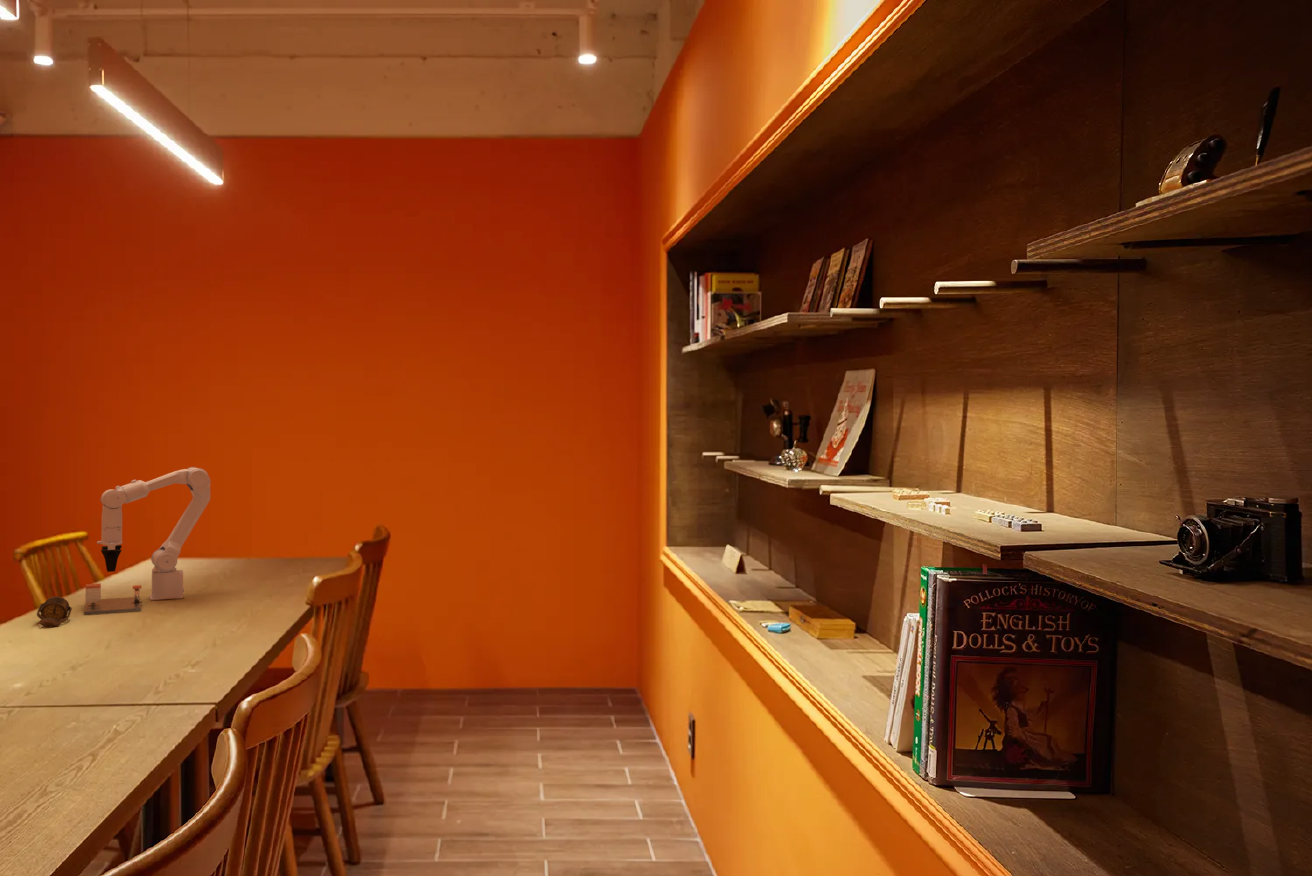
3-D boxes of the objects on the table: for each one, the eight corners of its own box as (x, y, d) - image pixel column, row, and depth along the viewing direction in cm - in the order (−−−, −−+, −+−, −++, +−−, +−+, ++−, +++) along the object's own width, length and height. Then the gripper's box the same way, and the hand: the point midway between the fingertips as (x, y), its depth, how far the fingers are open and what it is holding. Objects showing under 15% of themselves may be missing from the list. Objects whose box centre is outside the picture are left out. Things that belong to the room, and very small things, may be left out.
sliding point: (100, 602, 301) (100, 583, 301) (100, 604, 298) (100, 585, 297) (85, 603, 299) (85, 584, 299) (85, 605, 296) (85, 586, 296)
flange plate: (141, 599, 314) (141, 580, 313) (142, 611, 296) (142, 591, 296) (86, 603, 306) (86, 583, 306) (84, 615, 289) (84, 594, 289)
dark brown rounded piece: (85, 600, 284) (51, 592, 284) (61, 604, 272) (26, 596, 271) (78, 624, 284) (44, 616, 283) (54, 630, 271) (18, 622, 271)
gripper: (97, 525, 312) (97, 567, 313) (96, 530, 300) (96, 573, 300) (122, 524, 316) (122, 566, 316) (122, 529, 303) (122, 572, 303)
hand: (111, 569), depth 308 cm, fingers open, 7 cm apart
